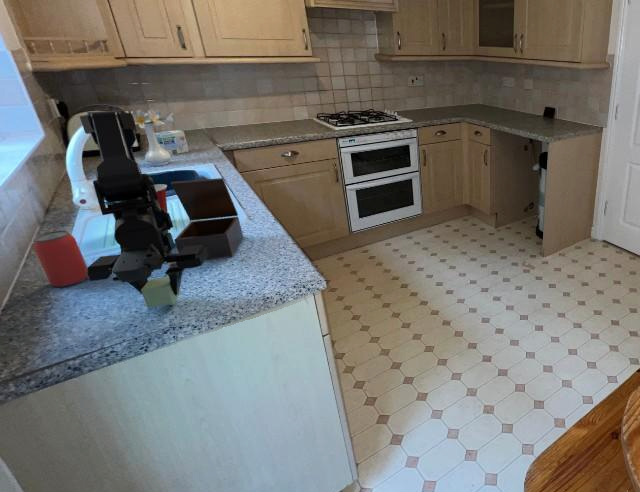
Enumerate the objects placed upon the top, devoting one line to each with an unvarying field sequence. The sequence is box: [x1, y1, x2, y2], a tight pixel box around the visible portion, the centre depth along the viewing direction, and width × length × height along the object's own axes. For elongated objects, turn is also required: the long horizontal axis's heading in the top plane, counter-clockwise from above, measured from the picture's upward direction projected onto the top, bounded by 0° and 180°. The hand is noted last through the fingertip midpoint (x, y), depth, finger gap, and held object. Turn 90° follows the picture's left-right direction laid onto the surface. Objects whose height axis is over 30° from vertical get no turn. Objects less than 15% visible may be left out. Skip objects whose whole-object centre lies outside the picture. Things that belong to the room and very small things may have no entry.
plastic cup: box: [148, 183, 169, 223], centre depth 124 cm, size 11×11×12 cm
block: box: [141, 276, 182, 309], centre depth 87 cm, size 4×4×4 cm
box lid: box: [170, 177, 239, 222], centre depth 112 cm, size 13×11×5 cm
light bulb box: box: [155, 129, 190, 156], centre depth 205 cm, size 11×7×11 cm, turn 159°
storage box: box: [173, 216, 244, 261], centre depth 111 cm, size 12×11×7 cm
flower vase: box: [125, 109, 174, 167], centre depth 184 cm, size 13×18×25 cm
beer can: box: [33, 229, 88, 288], centre depth 94 cm, size 7×7×12 cm
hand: (163, 296), depth 87 cm, fingers closed on block, 4 cm apart
